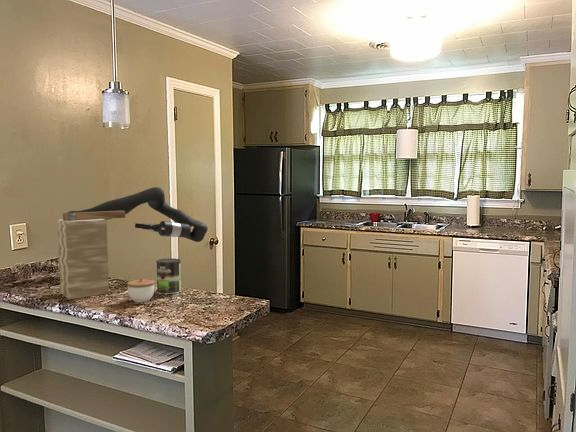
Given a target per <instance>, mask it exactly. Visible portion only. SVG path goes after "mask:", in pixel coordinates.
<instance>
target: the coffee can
mask: <svg viewBox="0 0 576 432" xmlns="http://www.w3.org/2000/svg"><path fill="white" fill-rule="evenodd" d="M155 262H156V288H157V289H156V291H157V294H158V295H161V294H165V295H164V296H168V295H167V294H173V295H176V294H175V293H178V294H180V293H181V292H182V289H181V288H182V281H181V280H182V278H181V277H182V276H181V275H182V274H181V270H182V269H181V264H182V263H181V262H182V260H181V259H180V258H173V257H172V258H161V259H158V260H156V261H155ZM179 292H180V293H179Z"/></svg>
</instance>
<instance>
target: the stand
mask: <svg viewBox="0 0 576 432" xmlns="http://www.w3.org/2000/svg"><path fill="white" fill-rule="evenodd" d="M107 221H108V220H106V219H92V220H75V221H64V220H63V218H62V219H57V235H58V236H57V237H58V260H59V262H58V263H59V265H58V266H59V286H60V287H59V288H60V294H62V296H64V297H65V298H67V299H68V300H73V299H75V300H76V299H80V298H86V297H93V296H98V295H106V294H110V286H109V285H110V282H109V254H108V252H109V250H108V249H109V248H108V228H107V227H108V225H107V224H108V222H107Z"/></svg>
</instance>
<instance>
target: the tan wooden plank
mask: <svg viewBox="0 0 576 432" xmlns="http://www.w3.org/2000/svg"><path fill="white" fill-rule="evenodd" d="M110 218H112V219H123V218H126V215H125V211H101V212H79V213H67V212H63V213H62V219H63V220H64V221H75V220H92V219H108V220H111V219H110Z"/></svg>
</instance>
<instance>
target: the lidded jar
mask: <svg viewBox="0 0 576 432" xmlns="http://www.w3.org/2000/svg"><path fill="white" fill-rule="evenodd" d="M155 283H156V281H155V280H154V279H146V278H143V277H139V279H134V280H133V279H132V280H129V281H128V282H127V283H126V285H127V293H128V297H129V298H130V299H131V300H132V301H133V302H134V303H139V304H141V303H146V302H149V301H150V299H151V298H152V297H153V295H154V293H155V287H156V286H155Z"/></svg>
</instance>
